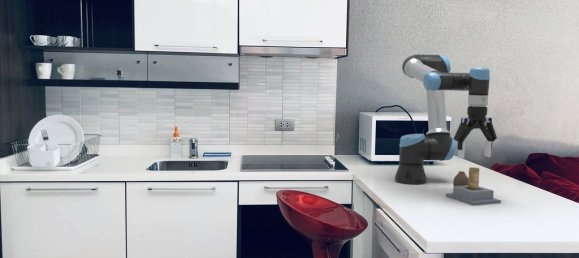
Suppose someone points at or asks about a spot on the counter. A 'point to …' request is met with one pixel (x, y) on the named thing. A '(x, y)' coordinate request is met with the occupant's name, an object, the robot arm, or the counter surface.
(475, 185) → the peg
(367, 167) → the counter surface
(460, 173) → the vase
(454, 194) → the socket
